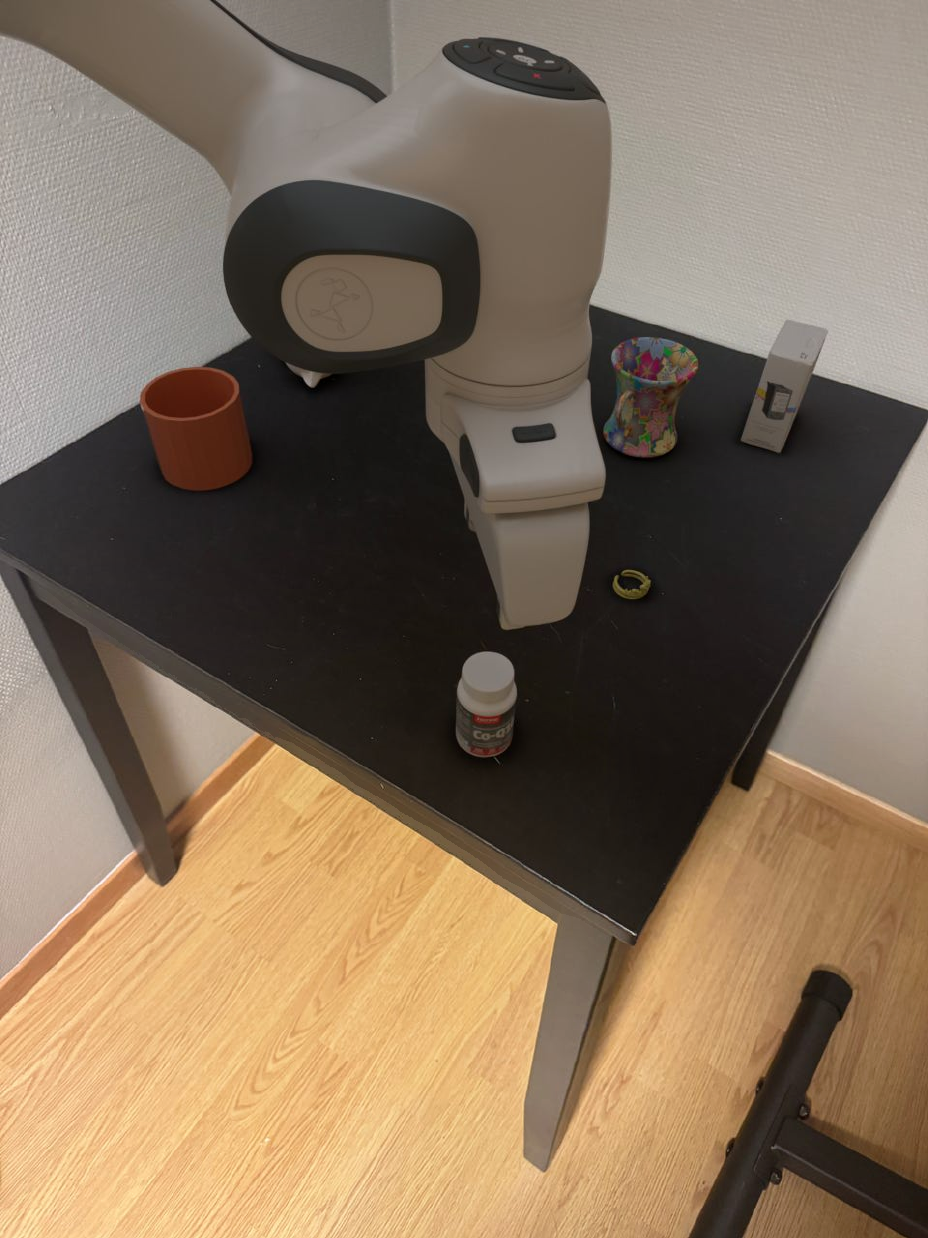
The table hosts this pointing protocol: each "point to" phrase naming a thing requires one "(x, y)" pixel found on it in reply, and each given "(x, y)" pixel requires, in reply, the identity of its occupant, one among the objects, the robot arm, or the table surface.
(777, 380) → the ink box
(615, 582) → the ring
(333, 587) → the table surface
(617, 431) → the mug
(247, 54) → the robot arm
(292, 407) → the table surface
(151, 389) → the cup
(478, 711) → the pill bottle
